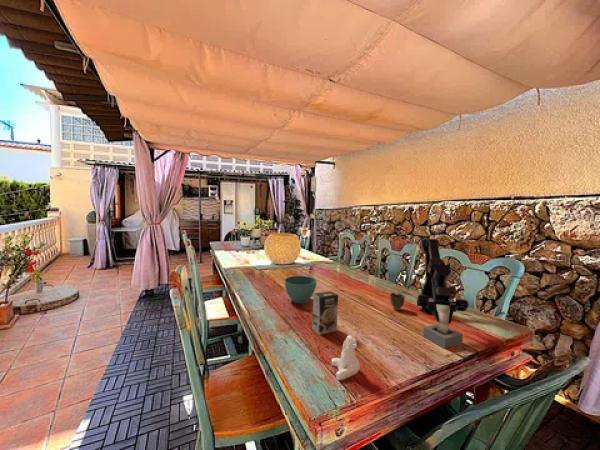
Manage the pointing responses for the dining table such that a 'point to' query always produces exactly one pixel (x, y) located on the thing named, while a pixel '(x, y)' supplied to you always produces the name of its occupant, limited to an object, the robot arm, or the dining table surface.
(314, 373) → the dining table surface
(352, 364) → the sitting furry creature
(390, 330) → the dining table surface
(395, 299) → the cup
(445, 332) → the peg
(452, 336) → the socket block
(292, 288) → the plant pot
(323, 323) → the coffee box
